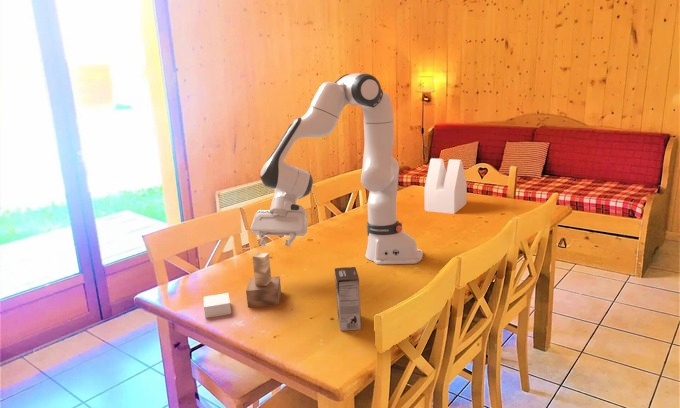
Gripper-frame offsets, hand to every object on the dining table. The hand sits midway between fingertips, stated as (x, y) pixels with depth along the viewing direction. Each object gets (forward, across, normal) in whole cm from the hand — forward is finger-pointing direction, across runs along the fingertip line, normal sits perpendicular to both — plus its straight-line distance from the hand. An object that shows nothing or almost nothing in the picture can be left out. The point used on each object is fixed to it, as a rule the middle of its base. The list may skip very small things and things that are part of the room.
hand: (275, 245), depth 181 cm
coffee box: (+27, +31, -5) cm, 42 cm away
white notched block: (-62, +51, +84) cm, 116 cm away
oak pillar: (+15, 0, -2) cm, 15 cm away
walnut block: (+19, -1, +3) cm, 19 cm away
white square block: (+26, -13, -4) cm, 29 cm away
